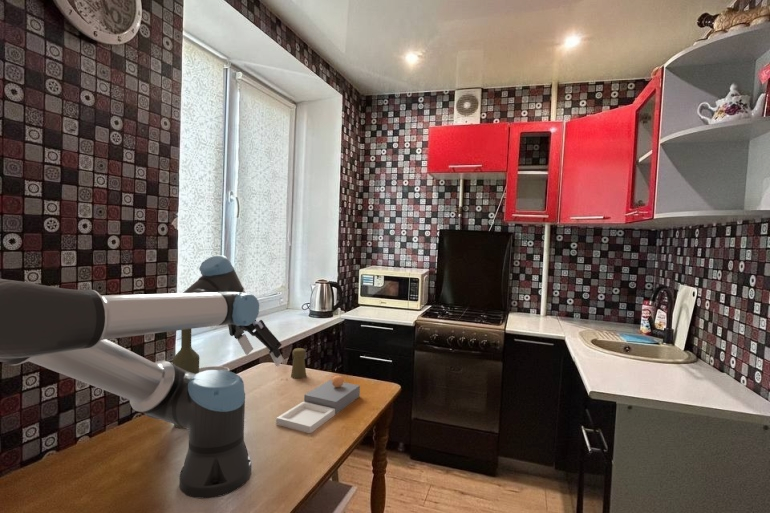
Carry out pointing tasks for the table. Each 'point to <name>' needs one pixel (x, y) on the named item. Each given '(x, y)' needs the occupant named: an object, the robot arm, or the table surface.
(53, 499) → the table surface
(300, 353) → the cork
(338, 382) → the ball
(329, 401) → the deck
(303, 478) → the table surface
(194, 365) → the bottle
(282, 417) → the tray
